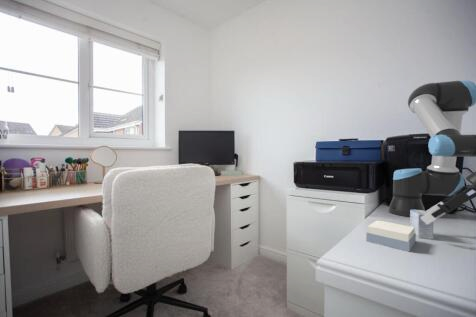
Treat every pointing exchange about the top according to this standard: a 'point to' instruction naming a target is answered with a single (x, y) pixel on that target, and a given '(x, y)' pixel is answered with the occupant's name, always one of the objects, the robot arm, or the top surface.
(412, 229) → the cream grey flat block
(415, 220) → the medicine box
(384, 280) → the top surface
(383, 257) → the top surface
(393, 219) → the top surface
